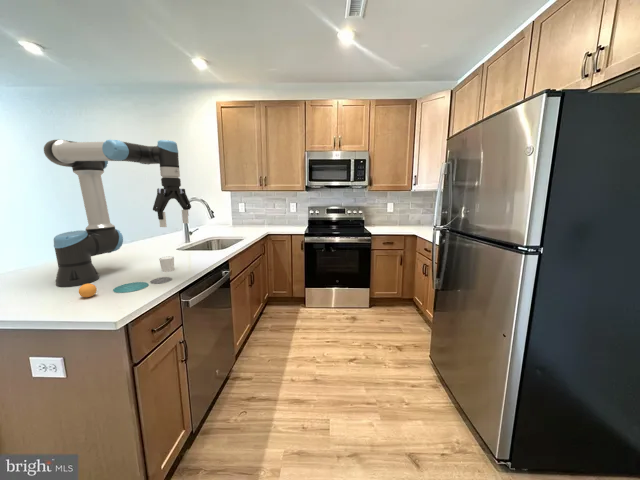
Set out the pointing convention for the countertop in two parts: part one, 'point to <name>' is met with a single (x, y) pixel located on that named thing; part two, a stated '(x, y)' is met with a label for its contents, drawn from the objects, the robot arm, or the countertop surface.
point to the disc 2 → (160, 280)
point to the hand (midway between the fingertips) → (175, 225)
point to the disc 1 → (130, 287)
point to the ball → (87, 290)
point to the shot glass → (167, 264)
